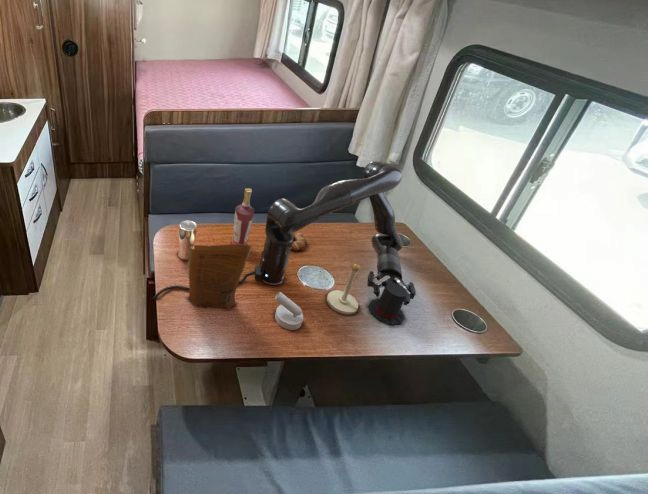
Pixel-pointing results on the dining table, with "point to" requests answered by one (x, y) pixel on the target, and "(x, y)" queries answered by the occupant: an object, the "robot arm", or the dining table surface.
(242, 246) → the pancake mix bag
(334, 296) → the hat stand
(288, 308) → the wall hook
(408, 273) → the dining table surface
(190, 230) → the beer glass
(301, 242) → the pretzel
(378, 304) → the hat
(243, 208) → the liquor
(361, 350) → the dining table surface
